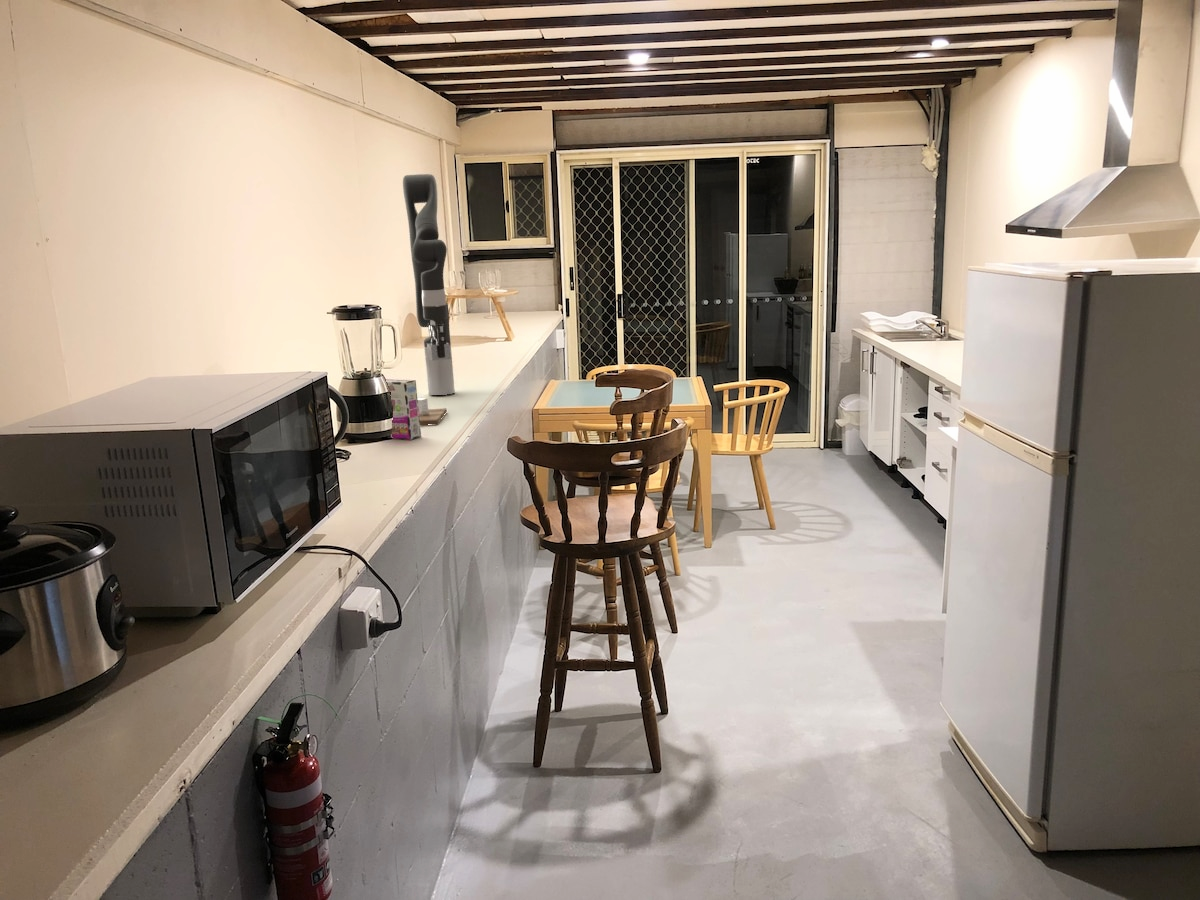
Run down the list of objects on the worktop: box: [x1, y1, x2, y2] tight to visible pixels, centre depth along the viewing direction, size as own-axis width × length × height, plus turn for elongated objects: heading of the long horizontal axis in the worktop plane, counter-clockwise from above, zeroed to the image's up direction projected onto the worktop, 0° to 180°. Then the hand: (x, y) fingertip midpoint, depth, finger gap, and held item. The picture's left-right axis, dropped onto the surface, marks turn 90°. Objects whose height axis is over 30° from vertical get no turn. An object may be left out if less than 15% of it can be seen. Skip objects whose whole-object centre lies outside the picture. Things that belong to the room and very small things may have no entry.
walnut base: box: [419, 407, 447, 426], centre depth 279 cm, size 18×12×2 cm, turn 0°
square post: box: [417, 397, 429, 416], centre depth 278 cm, size 3×3×5 cm
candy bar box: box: [386, 378, 422, 441], centre depth 254 cm, size 11×5×16 cm, turn 62°
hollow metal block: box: [427, 342, 451, 361], centre depth 291 cm, size 6×6×5 cm
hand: (439, 356), depth 291 cm, fingers closed on hollow metal block, 6 cm apart
